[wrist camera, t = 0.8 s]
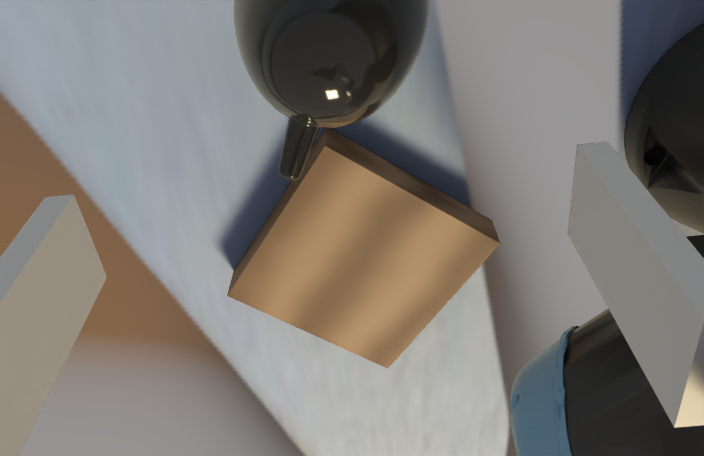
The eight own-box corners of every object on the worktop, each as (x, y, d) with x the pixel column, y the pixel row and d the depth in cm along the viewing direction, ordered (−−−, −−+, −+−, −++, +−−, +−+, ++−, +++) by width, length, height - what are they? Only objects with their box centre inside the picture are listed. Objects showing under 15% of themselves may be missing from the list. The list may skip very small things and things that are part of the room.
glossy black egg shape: (230, 40, 39) (167, 159, 26) (274, -144, 33) (220, -103, 21) (384, 92, 41) (393, 226, 28) (451, -74, 35) (498, 2, 23)
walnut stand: (491, 220, 46) (500, 243, 43) (386, 342, 52) (387, 368, 50) (326, 126, 42) (325, 145, 39) (233, 271, 48) (227, 295, 46)
